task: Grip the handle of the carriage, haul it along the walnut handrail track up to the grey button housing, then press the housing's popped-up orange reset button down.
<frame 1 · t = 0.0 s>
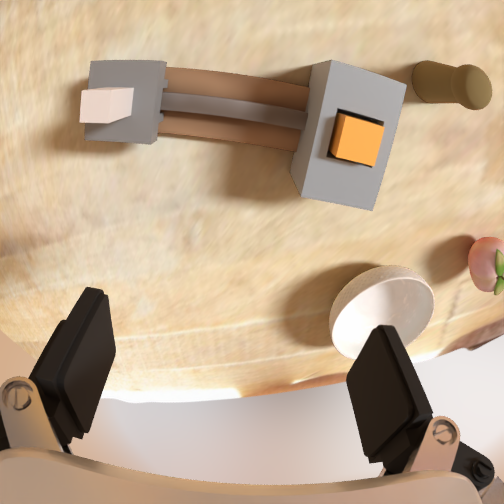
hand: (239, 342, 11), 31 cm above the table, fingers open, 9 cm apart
cork: (429, 81, 33), on the table
grey button housing: (332, 125, 36), on the table
reset button: (354, 137, 29), point 8 cm above the table, slide at 0.0 cm
decorative fruit: (474, 247, 45), on the table
carriage: (116, 101, 28), point 7 cm above the table, slide at -8.0 cm
cereal bowl: (372, 294, 50), on the table
rail track: (201, 102, 35), on the table
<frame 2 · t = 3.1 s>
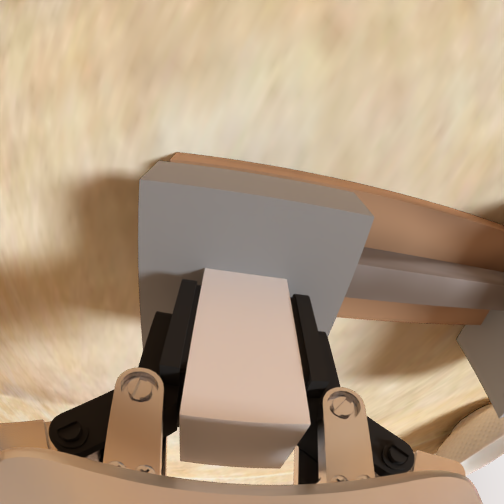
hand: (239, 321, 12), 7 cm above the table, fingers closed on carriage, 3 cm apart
carriage: (239, 318, 12), point 7 cm above the table, slide at -8.0 cm, touching gripper
cereal bowl: (473, 418, 34), on the table
rail track: (372, 252, 19), on the table
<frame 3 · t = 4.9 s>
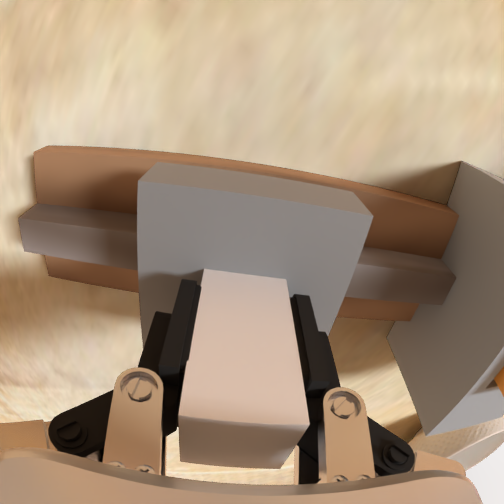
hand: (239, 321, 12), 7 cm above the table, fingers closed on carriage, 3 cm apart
grey button housing: (464, 267, 19), on the table
carriage: (239, 318, 12), point 7 cm above the table, slide at -0.1 cm, touching gripper
cereal bowl: (439, 425, 33), on the table
rail track: (243, 233, 18), on the table
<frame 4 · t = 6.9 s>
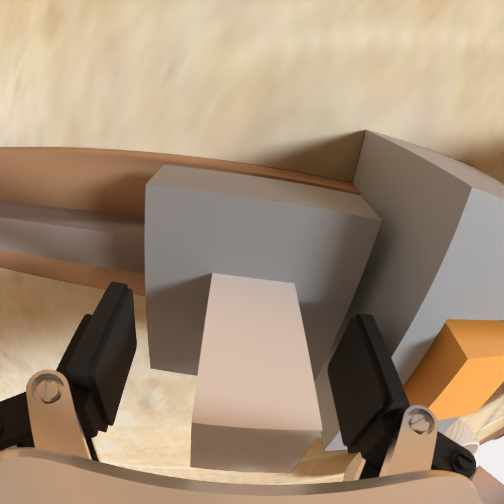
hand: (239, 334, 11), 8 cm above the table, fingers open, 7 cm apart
grey button housing: (391, 256, 19), on the table
reset button: (454, 356, 11), point 9 cm above the table, slide at 0.0 cm
carriage: (247, 322, 12), point 7 cm above the table, slide at 7.0 cm
cereal bowl: (401, 433, 32), on the table
rail track: (125, 219, 17), on the table
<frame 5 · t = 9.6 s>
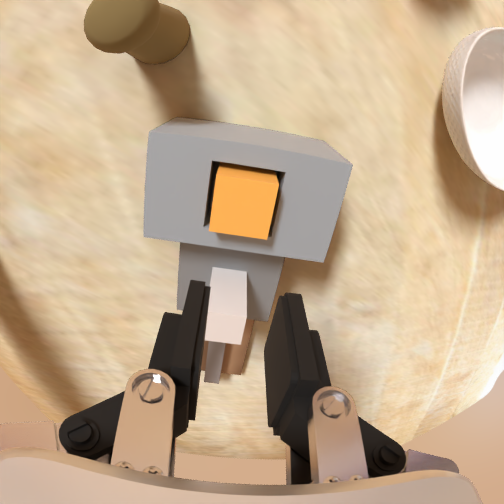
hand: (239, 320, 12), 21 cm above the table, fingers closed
cork: (158, 34, 23), on the table
grey button housing: (244, 167, 30), on the table
reset button: (243, 197, 23), point 8 cm above the table, slide at 0.0 cm
carriage: (227, 287, 28), point 7 cm above the table, slide at 7.0 cm
cereal bowl: (478, 101, 26), on the table
rail track: (222, 299, 38), on the table
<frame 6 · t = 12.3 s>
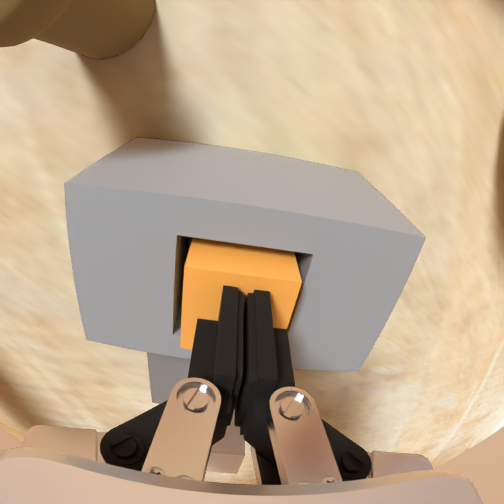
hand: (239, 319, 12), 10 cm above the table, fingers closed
cork: (109, 15, 14), on the table
grey button housing: (239, 211, 21), on the table
reset button: (236, 287, 13), point 8 cm above the table, slide at 0.3 cm, touching gripper
carriage: (216, 389, 19), point 7 cm above the table, slide at 7.0 cm
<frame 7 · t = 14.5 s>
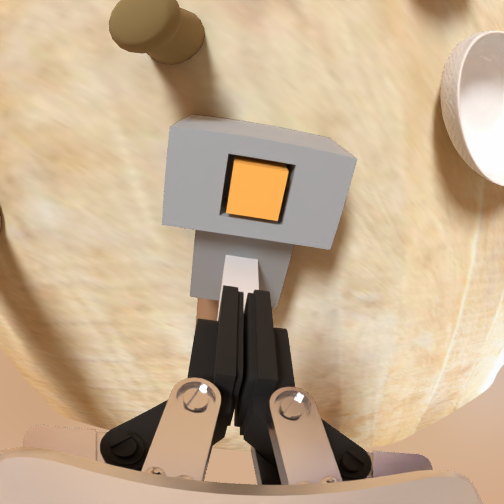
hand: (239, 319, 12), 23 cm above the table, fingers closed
cork: (174, 36, 25), on the table
grey button housing: (254, 161, 32), on the table
reset button: (256, 184, 25), point 7 cm above the table, slide at 1.1 cm
carriage: (239, 274, 30), point 7 cm above the table, slide at 7.0 cm
cereal bowl: (476, 100, 27), on the table
rail track: (232, 289, 40), on the table
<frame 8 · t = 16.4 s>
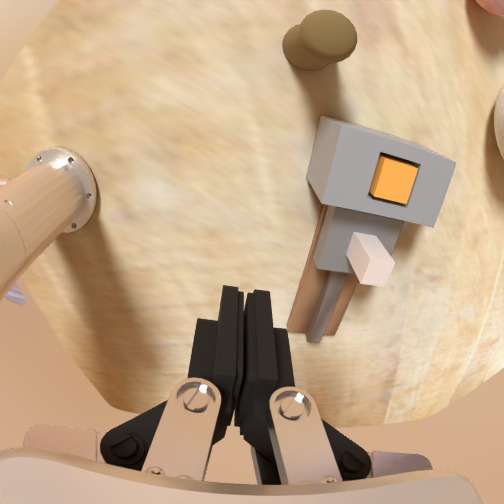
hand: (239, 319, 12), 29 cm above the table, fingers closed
cork: (308, 46, 31), on the table
grey button housing: (365, 158, 37), on the table
reset button: (388, 176, 31), point 7 cm above the table, slide at 1.1 cm
carriage: (363, 248, 36), point 7 cm above the table, slide at 7.0 cm
rail track: (332, 266, 45), on the table
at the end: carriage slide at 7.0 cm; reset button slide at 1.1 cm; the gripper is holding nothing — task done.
